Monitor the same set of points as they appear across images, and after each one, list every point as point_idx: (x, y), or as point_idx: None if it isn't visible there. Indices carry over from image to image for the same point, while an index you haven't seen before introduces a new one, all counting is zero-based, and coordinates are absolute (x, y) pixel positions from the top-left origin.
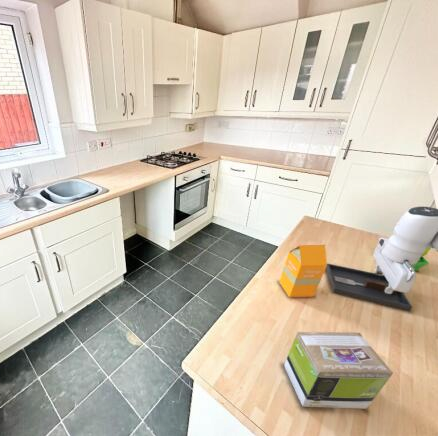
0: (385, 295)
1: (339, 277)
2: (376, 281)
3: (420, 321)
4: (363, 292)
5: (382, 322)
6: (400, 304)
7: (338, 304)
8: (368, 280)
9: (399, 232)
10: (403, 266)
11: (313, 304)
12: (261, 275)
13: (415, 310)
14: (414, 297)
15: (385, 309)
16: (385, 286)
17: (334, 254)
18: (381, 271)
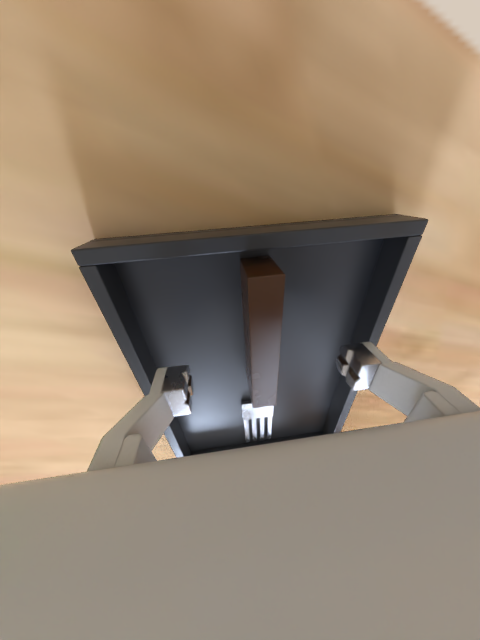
0: (300, 310)
1: (245, 433)
2: (256, 379)
3: (474, 176)
4: (306, 378)
5: (452, 337)
6: (400, 280)
7: (374, 418)
8: (264, 404)
9: None
10: None
11: None
12: None
13: (386, 168)
14: (231, 103)
15: None
16: (354, 390)
17: (42, 442)
18: (163, 397)
